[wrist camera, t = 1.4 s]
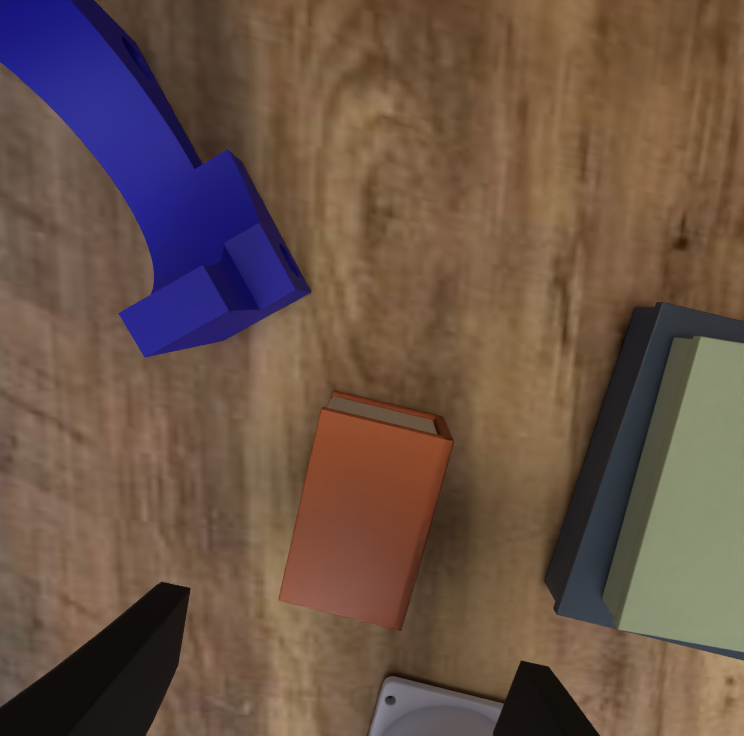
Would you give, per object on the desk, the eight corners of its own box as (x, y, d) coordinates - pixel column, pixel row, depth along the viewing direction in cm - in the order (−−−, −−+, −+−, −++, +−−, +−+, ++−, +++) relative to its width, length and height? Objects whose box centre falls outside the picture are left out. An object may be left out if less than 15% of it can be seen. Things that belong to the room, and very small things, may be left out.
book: (400, 576, 20) (401, 631, 17) (297, 551, 20) (278, 600, 17) (443, 416, 19) (454, 441, 16) (333, 390, 19) (320, 408, 16)
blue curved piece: (311, 292, 18) (272, 286, 12) (222, 340, 19) (144, 357, 13) (166, 22, 17) (45, -129, 11) (75, 81, 18) (-87, -32, 12)
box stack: (757, 637, 20) (837, 710, 16) (539, 583, 20) (571, 645, 16) (876, 360, 18) (998, 374, 14) (632, 302, 18) (692, 301, 14)
